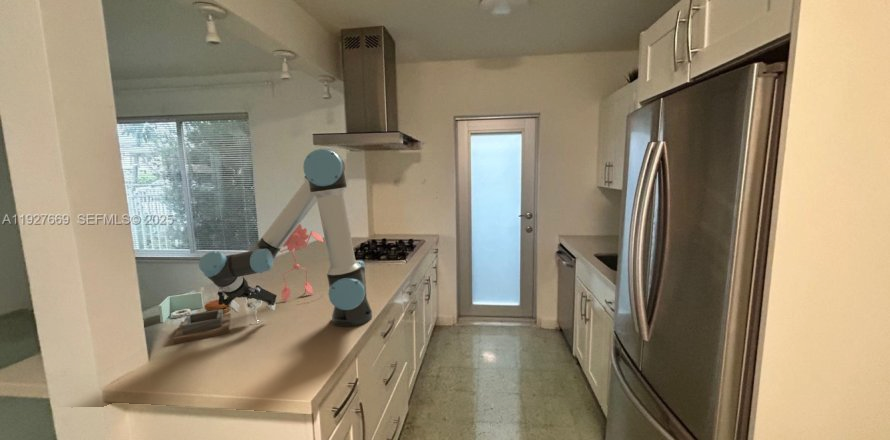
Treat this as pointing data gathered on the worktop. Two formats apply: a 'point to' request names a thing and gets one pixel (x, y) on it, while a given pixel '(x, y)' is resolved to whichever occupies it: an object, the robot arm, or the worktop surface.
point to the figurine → (294, 243)
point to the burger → (216, 306)
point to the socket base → (203, 326)
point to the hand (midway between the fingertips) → (256, 308)
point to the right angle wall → (180, 305)
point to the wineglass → (253, 305)
